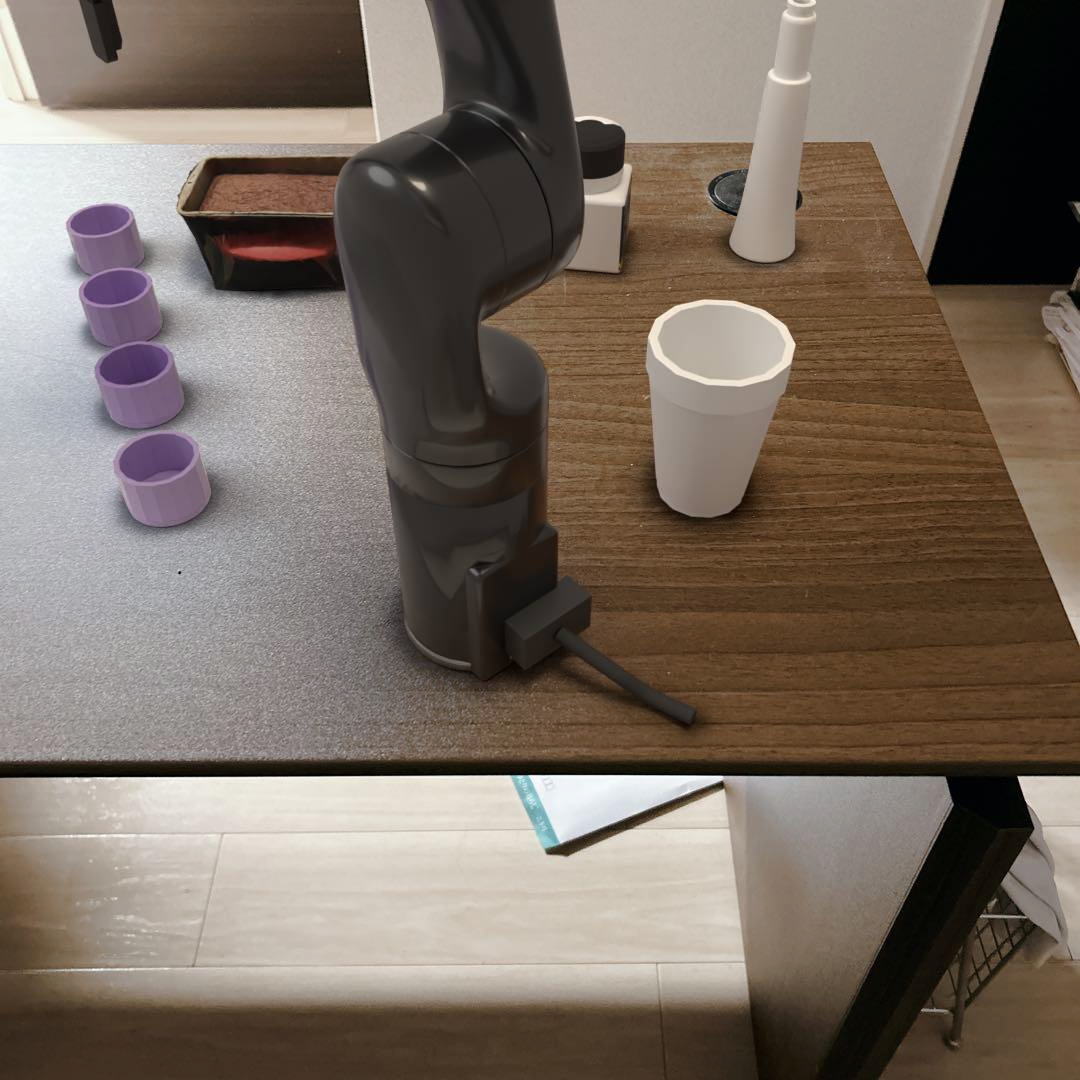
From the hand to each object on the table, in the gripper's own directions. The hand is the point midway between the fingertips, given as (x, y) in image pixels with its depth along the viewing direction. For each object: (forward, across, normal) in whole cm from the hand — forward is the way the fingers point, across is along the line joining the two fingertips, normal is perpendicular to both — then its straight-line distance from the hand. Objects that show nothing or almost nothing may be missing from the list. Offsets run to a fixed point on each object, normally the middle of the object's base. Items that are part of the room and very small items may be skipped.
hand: (42, 77), depth 70 cm
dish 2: (+26, 0, 0) cm, 26 cm away
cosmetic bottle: (+26, +54, -16) cm, 62 cm away
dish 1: (+26, +4, +11) cm, 28 cm away
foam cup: (+26, +26, -35) cm, 51 cm away
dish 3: (+26, -4, -11) cm, 28 cm away
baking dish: (+26, +20, +11) cm, 35 cm away
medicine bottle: (+26, +41, -6) cm, 49 cm away
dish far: (+26, +7, +21) cm, 34 cm away
